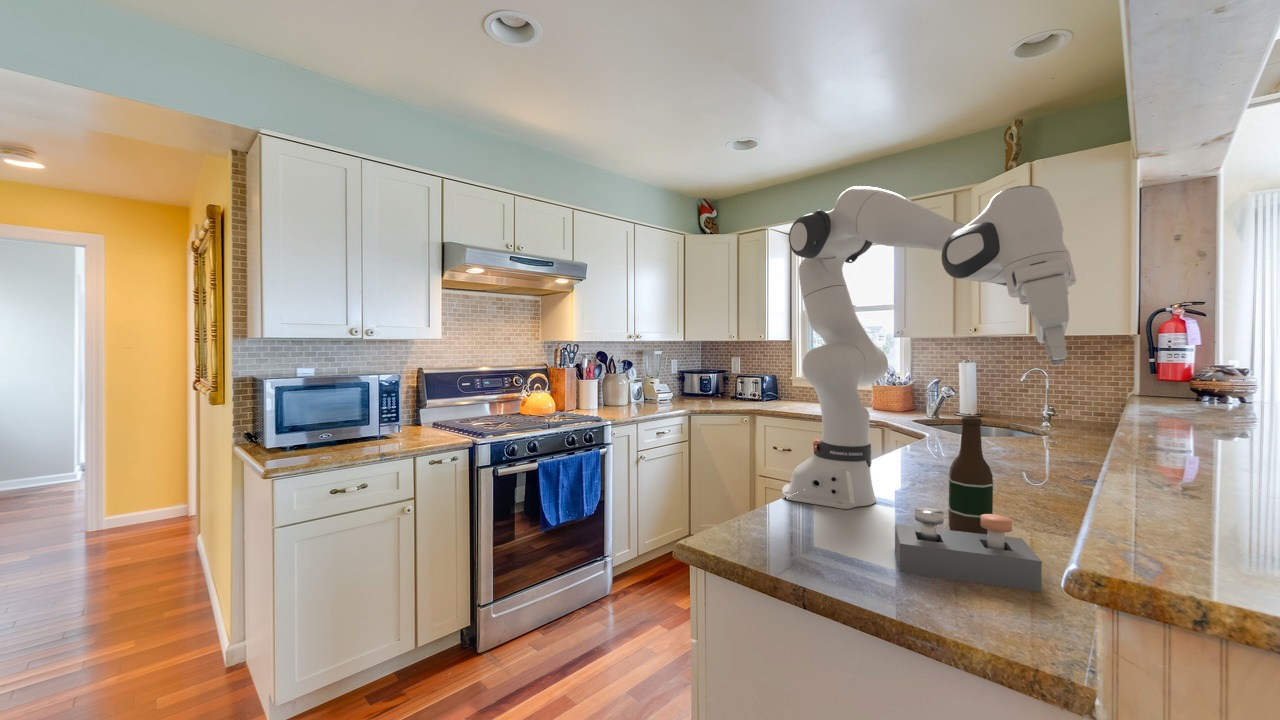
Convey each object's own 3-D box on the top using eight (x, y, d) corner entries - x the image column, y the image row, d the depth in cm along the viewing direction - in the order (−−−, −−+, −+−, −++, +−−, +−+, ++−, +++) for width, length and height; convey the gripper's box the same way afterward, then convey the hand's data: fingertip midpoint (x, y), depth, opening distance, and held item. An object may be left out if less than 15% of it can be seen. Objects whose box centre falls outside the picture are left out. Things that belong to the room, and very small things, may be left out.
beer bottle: (996, 532, 107) (998, 417, 106) (987, 543, 101) (989, 421, 100) (953, 523, 112) (954, 413, 111) (943, 533, 106) (944, 417, 106)
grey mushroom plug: (916, 548, 90) (916, 513, 90) (913, 539, 94) (913, 506, 94) (945, 551, 89) (945, 516, 88) (940, 542, 93) (941, 509, 93)
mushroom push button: (983, 556, 87) (984, 520, 86) (977, 546, 91) (977, 512, 90) (1014, 560, 85) (1015, 524, 85) (1007, 550, 89) (1007, 515, 89)
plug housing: (899, 572, 89) (900, 543, 89) (894, 550, 98) (895, 524, 98) (1041, 592, 81) (1041, 561, 81) (1021, 566, 91) (1021, 538, 91)
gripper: (1017, 297, 94) (1034, 371, 92) (1013, 269, 78) (1034, 358, 75) (1061, 288, 91) (1080, 365, 88) (1067, 257, 74) (1090, 350, 72)
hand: (1059, 362), depth 82 cm, fingers open, 8 cm apart
